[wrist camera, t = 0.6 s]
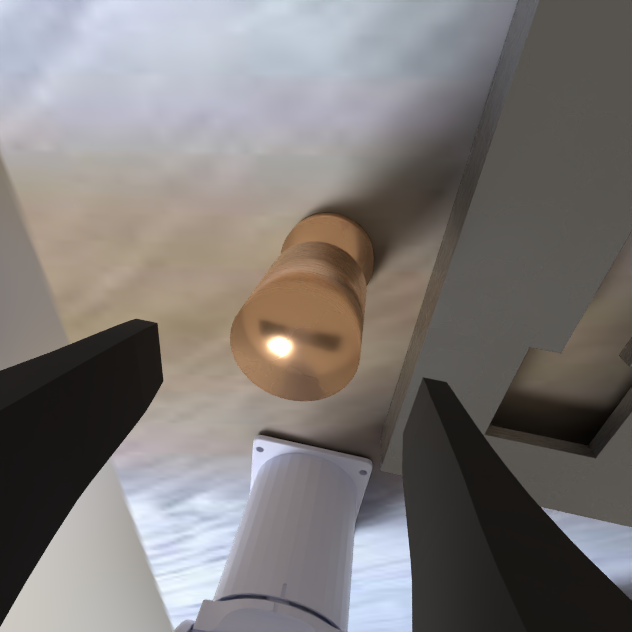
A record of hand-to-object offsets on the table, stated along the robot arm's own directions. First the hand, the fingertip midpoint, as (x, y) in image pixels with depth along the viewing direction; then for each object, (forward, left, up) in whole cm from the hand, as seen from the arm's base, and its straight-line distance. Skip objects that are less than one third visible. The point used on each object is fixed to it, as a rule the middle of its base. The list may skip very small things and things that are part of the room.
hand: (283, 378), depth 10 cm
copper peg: (0, 0, -9) cm, 9 cm away
